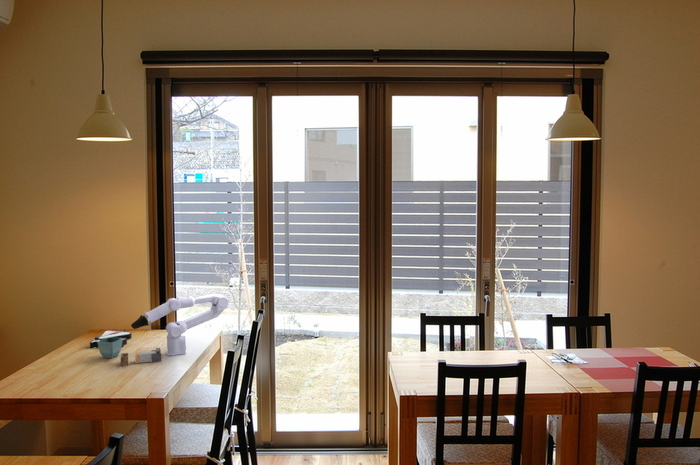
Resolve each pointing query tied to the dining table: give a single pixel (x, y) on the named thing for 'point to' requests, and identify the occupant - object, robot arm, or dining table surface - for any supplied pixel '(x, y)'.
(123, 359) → the socket
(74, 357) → the dining table surface
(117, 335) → the decorative sign
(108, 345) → the flower pot
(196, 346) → the dining table surface
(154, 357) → the sleeve
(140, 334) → the dining table surface
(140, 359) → the tube
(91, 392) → the dining table surface
